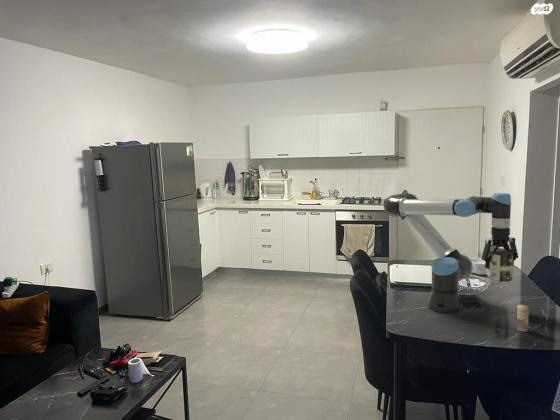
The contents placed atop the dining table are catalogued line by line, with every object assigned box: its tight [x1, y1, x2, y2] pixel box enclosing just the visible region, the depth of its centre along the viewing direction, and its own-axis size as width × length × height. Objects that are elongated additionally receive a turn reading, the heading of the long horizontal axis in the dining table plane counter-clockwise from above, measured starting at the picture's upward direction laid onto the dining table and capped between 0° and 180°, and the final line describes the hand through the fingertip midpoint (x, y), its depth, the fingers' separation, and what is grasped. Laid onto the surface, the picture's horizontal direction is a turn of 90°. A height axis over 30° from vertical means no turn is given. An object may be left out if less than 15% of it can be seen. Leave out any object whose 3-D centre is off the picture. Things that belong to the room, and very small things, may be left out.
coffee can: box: [487, 247, 514, 284], centre depth 189 cm, size 10×10×14 cm
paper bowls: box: [469, 257, 487, 276], centre depth 251 cm, size 15×15×8 cm
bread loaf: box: [516, 304, 530, 333], centre depth 169 cm, size 4×4×10 cm
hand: (499, 274), depth 190 cm, fingers closed on coffee can, 10 cm apart
